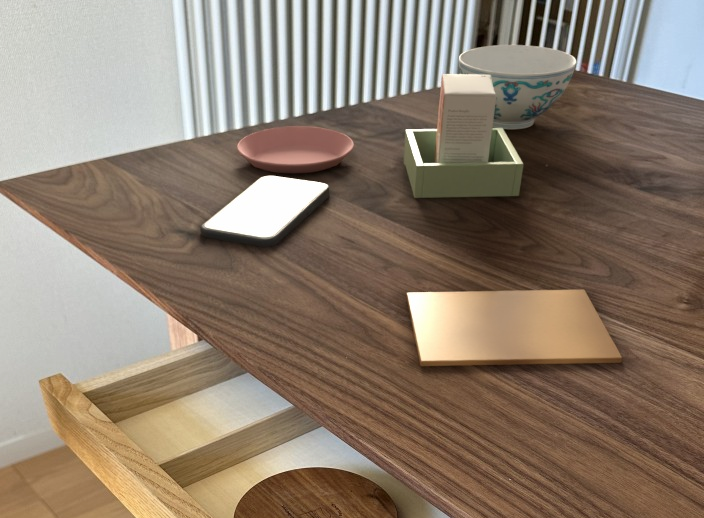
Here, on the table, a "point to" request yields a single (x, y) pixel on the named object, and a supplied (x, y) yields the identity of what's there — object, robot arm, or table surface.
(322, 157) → the plate
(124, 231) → the table surface
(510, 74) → the chinaware
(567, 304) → the gold metal mat
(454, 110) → the small box
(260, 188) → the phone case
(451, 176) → the open bin
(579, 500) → the table surface
